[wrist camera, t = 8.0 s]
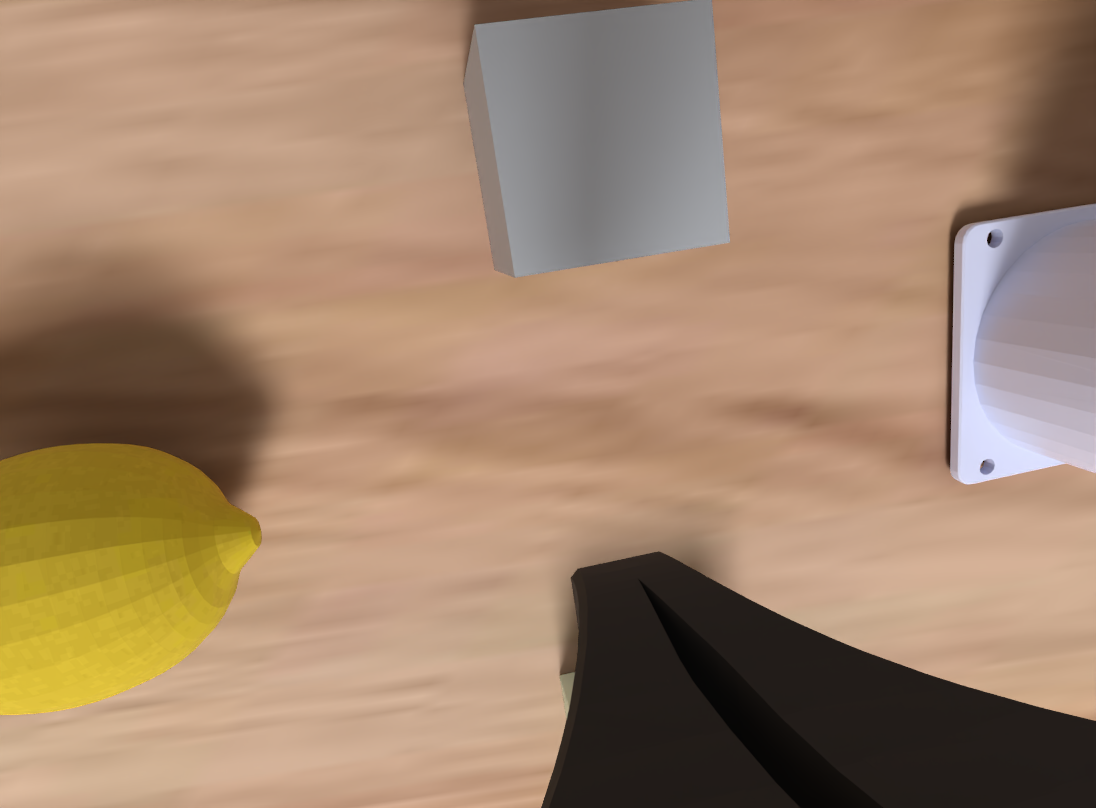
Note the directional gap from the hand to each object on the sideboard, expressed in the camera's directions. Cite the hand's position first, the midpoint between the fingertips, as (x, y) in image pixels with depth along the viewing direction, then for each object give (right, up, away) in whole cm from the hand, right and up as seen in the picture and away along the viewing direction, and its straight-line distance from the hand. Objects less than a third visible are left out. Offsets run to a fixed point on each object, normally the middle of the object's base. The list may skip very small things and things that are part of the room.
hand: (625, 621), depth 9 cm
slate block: (-1, +9, +7) cm, 12 cm away
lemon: (-7, 0, +5) cm, 9 cm away
